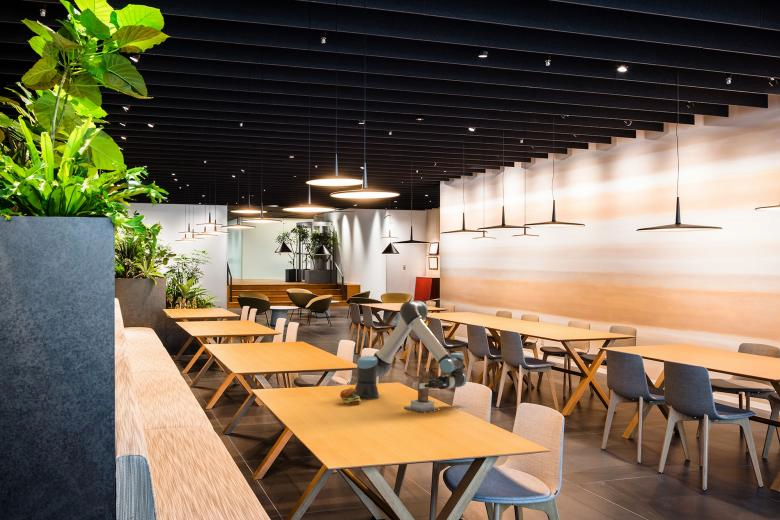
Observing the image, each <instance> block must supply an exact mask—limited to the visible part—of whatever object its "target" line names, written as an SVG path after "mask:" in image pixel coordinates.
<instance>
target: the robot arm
mask: <svg viewBox="0 0 780 520" xmlns="http://www.w3.org/2000/svg"><path fill="white" fill-rule="evenodd" d="M428 311H429V310H428V306H427V304H426V303H425V302H424V301H421V300H407V301H405V302H404V303H402V304H401V305H400V310H399V314H400V320H399V322H398V323H397V325H395V328H394V330H392V332H391V334H389V336H388V338H387V339H386V341H385V342H384V344H383V345H382V347H381V348H380V350H376V351H375V352H374V354H373V355H362V356H360V357H359V358H358V359H357V364H356V383H355V387H354V389H355V390H356V392H355V393H354V394H353V395H358V396H359V397H360V400H375V399H377V400H378V399H379V395H380V394H379V391H378V387H377V385H378V384H377V378H378V377H379V378H380V377H382V376H385V375H387V374H388V373H389V371H390V370H391V364H392V363H393V357H394V356H395V355H396V353H397V351H398V350H399V349H400V347H401V346H402V345H403V343H404V341H405V340H406V338H407V337H408V335H409V334H410V333H411V331H412V330H413V332H414V333H415V334H416V336H417V337H418V339H420V341H421V342H422V344H423V345H424V346H425V348H426V349H427V350H428V352H430V354H431V356H432V357H433V358H434V359H435V360H436V363H438V364H439V369H440V370H441V372H442V373H445V374H444V375H438V376H437V377H436V378H433V379H430V378H429V383H420V384H419V389H423V388H428V387H429V388H430V389H431V388H432V389H436V388H437V389H439V390H446V389H447V390H449V389H454V388H460V387H461V388H462V387H464V386H466V383H467V377H466V375H465V374H464V361H465V360H464V359H465V358H464V354H463V353H462V352H452V353H450V354H449V353H448V351H447V350H446V349H445V347H444V346H443V345H442V344H441V342H440V341H439V340H438V339H437V337H436V336H435V334H433V333H434V332H432V331H431V329H430V328H429V327H428V326H427V324H426V323H425V322H424V320H425V319H426V318H427V316H428V313H429V312H428ZM447 373H449V374H447ZM412 388H418V381H415V382H414V381H413V382H412Z"/></svg>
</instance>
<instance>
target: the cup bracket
mask: <svg viewBox="0 0 780 520" xmlns="http://www.w3.org/2000/svg"><path fill="white" fill-rule="evenodd" d="M403 409H405V410H409V411H412V410H413V412H417V413H421V412H422V414H424V412H426V413H431V412H430V411H433V412H435V411H434V410H438V409H440V410H441V407H436V406H435V401H434V400H429V399H428V402H419V401H418V399H412V400H410V405H406V406H403Z"/></svg>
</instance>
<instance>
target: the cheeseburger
mask: <svg viewBox="0 0 780 520" xmlns="http://www.w3.org/2000/svg"><path fill="white" fill-rule="evenodd" d="M355 392H356V390H355V387H349V388H347V389H343V390H341V391H340V394H339V397H340V398H341V400H342V402H343V403H342V404H344V405H347V406H353V405H361V402H362V400H361V399H360V397H359V396H358V395H353V394H354V393H355Z"/></svg>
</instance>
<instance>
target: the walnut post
mask: <svg viewBox="0 0 780 520" xmlns="http://www.w3.org/2000/svg"><path fill="white" fill-rule="evenodd" d="M429 379H430V371H426V370H421V371H418V379H417V380H418V381H417V382H418V387H417V400H418V401H419V402H428V400H429V390H430V389H429V387H428V388H423V389H419V384H420V383H429Z"/></svg>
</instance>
